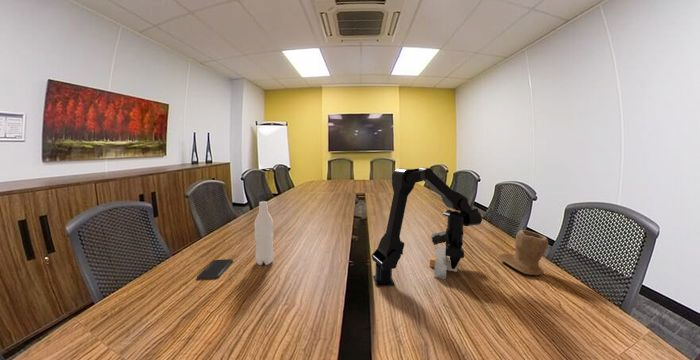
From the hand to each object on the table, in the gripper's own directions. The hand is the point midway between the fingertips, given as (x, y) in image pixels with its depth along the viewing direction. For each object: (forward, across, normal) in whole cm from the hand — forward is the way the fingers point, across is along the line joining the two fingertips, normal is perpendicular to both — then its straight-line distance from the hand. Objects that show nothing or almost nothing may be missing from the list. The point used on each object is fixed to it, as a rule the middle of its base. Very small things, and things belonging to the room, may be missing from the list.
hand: (453, 266), depth 100 cm
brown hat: (+1, -11, +26) cm, 28 cm away
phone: (+2, +34, -85) cm, 91 cm away
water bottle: (+1, +22, -71) cm, 75 cm away
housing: (+1, 0, -4) cm, 5 cm away
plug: (+1, 0, -4) cm, 4 cm away
